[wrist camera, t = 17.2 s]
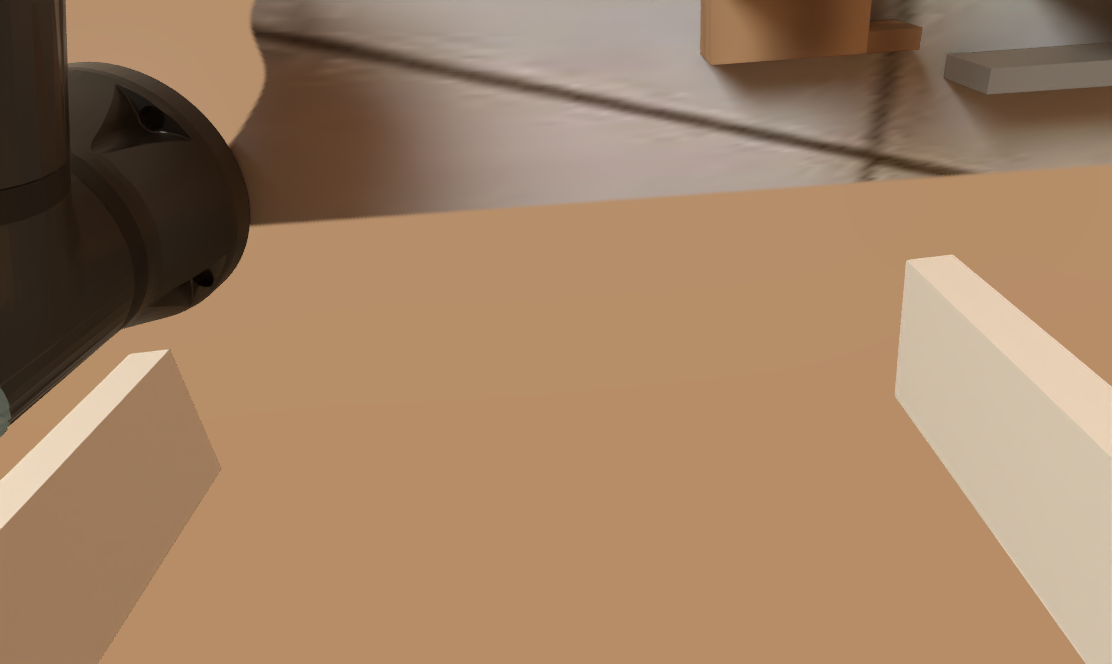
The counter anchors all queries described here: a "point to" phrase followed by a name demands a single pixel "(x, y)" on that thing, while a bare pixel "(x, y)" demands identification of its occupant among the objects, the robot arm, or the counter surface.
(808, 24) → the wooden bracket
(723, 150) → the counter surface
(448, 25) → the counter surface
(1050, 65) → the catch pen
